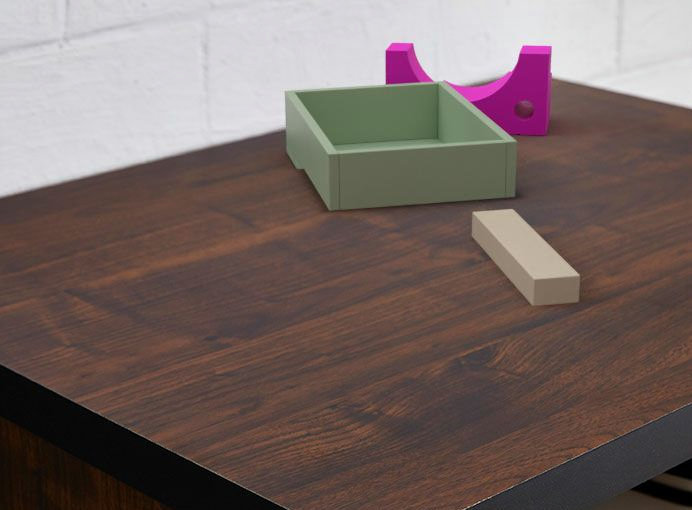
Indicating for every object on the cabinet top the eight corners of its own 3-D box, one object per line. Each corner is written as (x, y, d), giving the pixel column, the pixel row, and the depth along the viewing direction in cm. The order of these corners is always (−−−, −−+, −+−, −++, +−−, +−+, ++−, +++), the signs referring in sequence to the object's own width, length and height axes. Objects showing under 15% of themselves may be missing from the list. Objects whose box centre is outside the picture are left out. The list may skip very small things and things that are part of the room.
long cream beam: (471, 251, 99) (472, 211, 98) (511, 248, 100) (513, 208, 98) (532, 324, 87) (534, 279, 85) (578, 320, 87) (580, 275, 86)
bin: (443, 141, 127) (444, 80, 125) (514, 211, 107) (517, 141, 105) (286, 152, 125) (284, 90, 122) (329, 225, 105) (328, 154, 103)
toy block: (549, 119, 134) (553, 40, 131) (545, 135, 128) (549, 54, 125) (396, 114, 137) (396, 37, 134) (385, 130, 131) (385, 50, 128)
